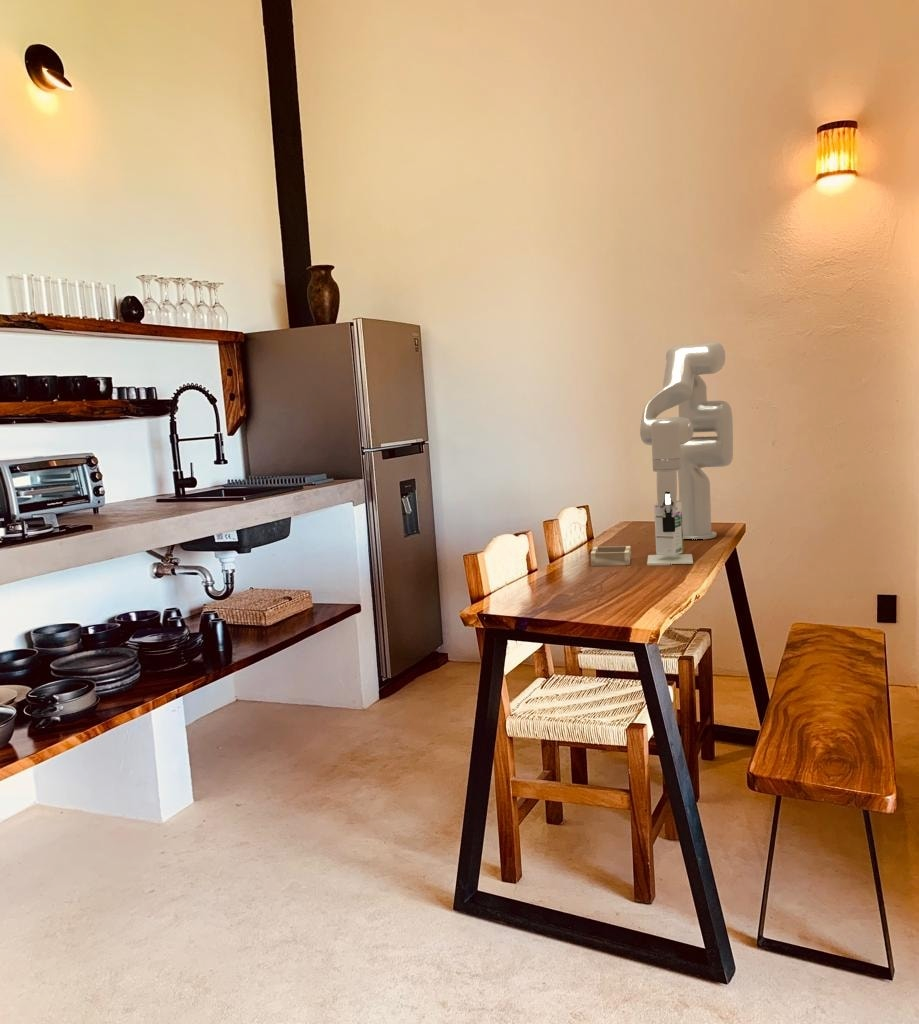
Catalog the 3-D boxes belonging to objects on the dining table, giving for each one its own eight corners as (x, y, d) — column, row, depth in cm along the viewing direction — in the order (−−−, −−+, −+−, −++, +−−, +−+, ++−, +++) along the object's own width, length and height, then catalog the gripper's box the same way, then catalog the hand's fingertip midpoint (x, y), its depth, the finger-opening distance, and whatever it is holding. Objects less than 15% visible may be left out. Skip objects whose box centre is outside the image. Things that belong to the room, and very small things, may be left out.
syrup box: (675, 556, 231) (674, 503, 230) (655, 554, 235) (653, 502, 233) (683, 552, 236) (682, 500, 234) (663, 551, 239) (662, 500, 238)
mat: (648, 557, 243) (648, 555, 243) (691, 556, 240) (691, 554, 240) (647, 565, 231) (647, 563, 231) (693, 564, 228) (693, 562, 228)
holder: (594, 558, 246) (593, 546, 245) (631, 558, 243) (630, 545, 243) (591, 565, 236) (590, 553, 235) (629, 565, 233) (628, 552, 233)
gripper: (653, 463, 242) (655, 524, 244) (652, 468, 225) (654, 535, 227) (680, 461, 240) (682, 524, 242) (681, 467, 223) (683, 534, 225)
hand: (669, 529), depth 235 cm, fingers closed on syrup box, 7 cm apart
